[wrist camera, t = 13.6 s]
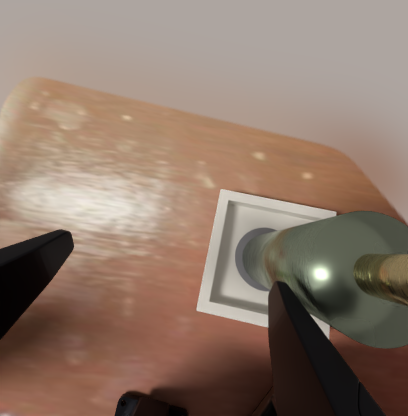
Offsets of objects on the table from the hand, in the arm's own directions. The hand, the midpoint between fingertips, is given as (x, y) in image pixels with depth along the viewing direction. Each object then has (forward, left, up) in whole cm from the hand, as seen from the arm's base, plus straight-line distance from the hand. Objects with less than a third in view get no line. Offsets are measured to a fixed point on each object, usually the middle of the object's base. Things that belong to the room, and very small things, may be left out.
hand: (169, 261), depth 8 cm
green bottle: (+2, -8, -12) cm, 15 cm away
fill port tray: (+2, -8, -13) cm, 15 cm away
